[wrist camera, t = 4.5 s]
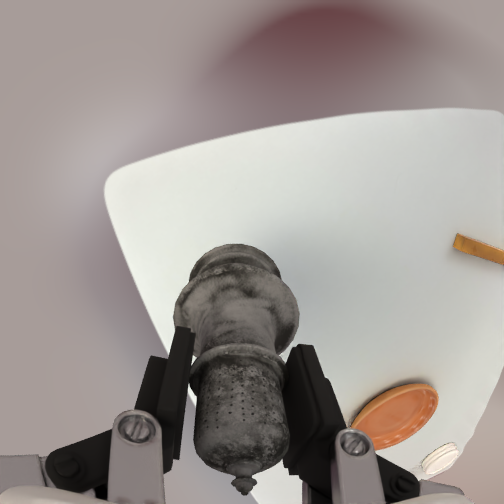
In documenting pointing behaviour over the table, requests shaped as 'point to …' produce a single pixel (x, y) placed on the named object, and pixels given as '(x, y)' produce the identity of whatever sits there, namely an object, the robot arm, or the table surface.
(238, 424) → the salt shaker
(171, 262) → the table surface
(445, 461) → the coaster
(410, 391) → the saucer
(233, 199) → the table surface
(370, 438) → the robot arm
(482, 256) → the golden stick
